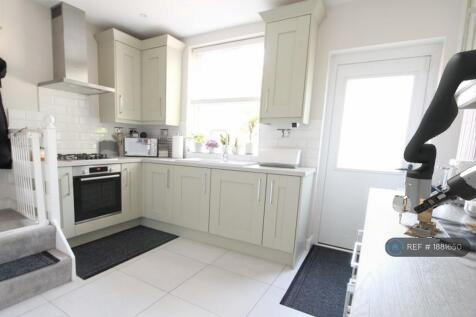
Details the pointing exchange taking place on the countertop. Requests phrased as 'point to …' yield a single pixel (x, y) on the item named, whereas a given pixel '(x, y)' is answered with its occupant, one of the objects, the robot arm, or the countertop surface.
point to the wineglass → (401, 205)
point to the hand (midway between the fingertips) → (421, 209)
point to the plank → (421, 233)
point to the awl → (425, 216)
